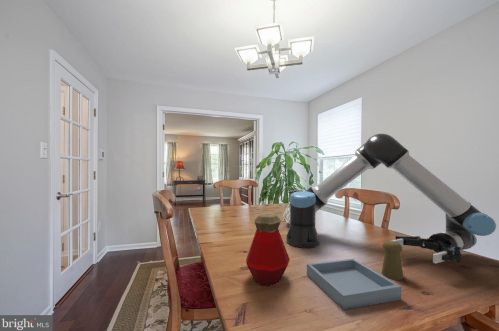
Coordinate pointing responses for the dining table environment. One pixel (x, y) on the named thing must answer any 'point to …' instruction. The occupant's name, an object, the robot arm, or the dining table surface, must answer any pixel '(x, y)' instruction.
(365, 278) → the tray
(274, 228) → the bottle
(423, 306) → the dining table surface
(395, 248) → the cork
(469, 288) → the dining table surface
